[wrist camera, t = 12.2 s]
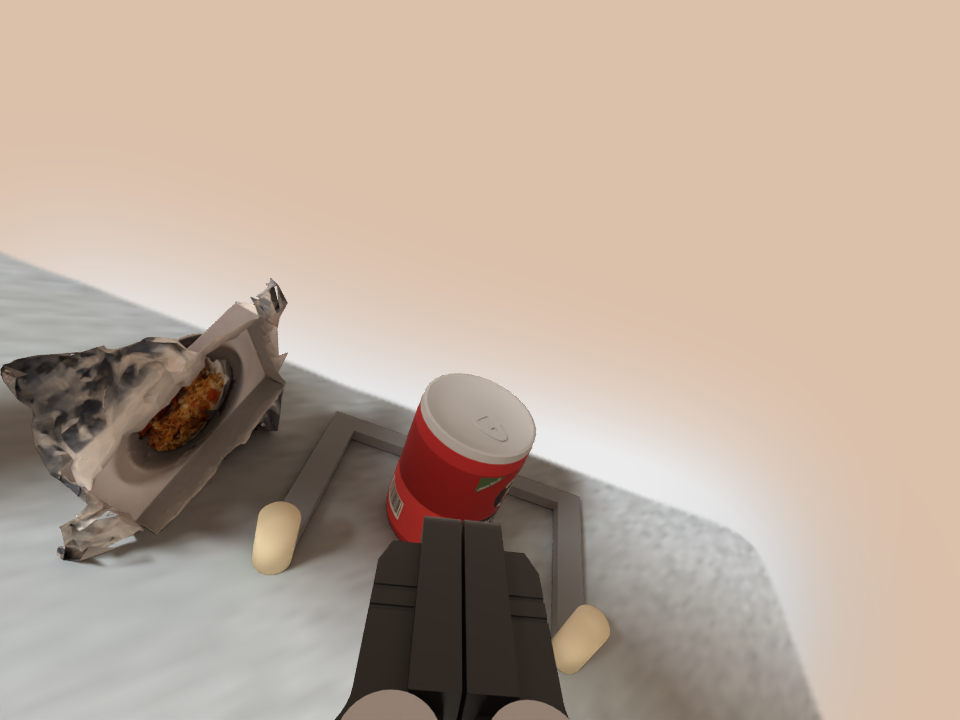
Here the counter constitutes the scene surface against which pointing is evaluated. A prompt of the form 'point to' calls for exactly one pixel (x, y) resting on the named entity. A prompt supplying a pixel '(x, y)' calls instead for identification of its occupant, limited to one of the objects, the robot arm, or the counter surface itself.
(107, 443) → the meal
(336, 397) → the counter surface
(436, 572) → the robot arm
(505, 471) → the canned food
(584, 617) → the frame
